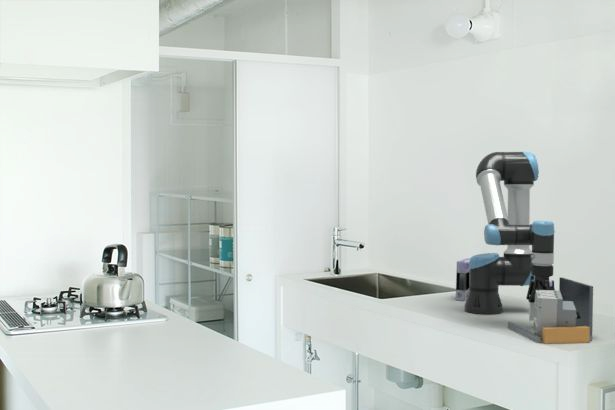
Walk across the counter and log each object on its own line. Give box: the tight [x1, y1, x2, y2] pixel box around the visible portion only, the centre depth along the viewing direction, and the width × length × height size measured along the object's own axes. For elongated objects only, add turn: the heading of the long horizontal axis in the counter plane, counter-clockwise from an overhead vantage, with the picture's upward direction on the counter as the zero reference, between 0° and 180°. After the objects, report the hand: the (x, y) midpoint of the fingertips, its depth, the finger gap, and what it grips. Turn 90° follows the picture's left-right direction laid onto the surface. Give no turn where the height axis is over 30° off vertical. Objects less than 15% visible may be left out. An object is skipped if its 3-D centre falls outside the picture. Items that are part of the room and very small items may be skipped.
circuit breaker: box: [533, 290, 580, 339], centre depth 262 cm, size 8×14×15 cm, turn 79°
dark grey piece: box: [507, 277, 594, 344], centre depth 270 cm, size 25×21×18 cm
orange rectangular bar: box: [541, 326, 590, 344], centre depth 257 cm, size 2×16×5 cm, turn 98°
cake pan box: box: [455, 257, 471, 302], centre depth 346 cm, size 19×5×18 cm, turn 147°
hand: (541, 324), depth 275 cm, fingers open, 13 cm apart
